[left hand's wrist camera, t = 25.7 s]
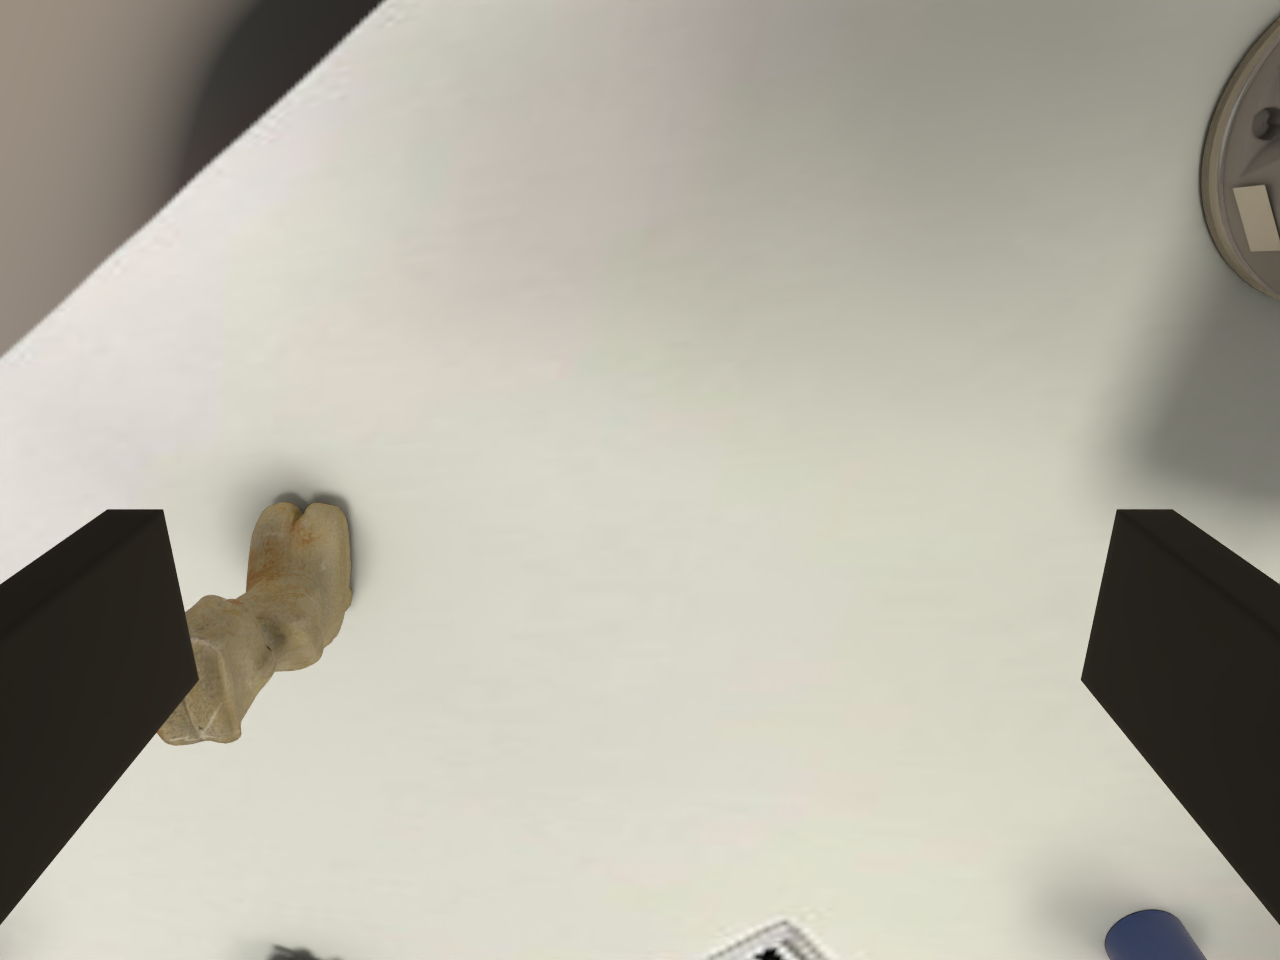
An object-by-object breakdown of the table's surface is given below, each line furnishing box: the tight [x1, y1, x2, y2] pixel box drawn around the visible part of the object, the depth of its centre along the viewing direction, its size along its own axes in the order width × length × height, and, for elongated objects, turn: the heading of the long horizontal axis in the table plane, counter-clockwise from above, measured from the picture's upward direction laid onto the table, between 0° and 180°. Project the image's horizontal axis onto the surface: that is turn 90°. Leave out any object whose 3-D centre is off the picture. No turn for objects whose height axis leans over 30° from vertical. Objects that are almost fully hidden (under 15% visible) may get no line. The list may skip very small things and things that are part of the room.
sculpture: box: [157, 502, 352, 746], centre depth 42 cm, size 6×7×15 cm
